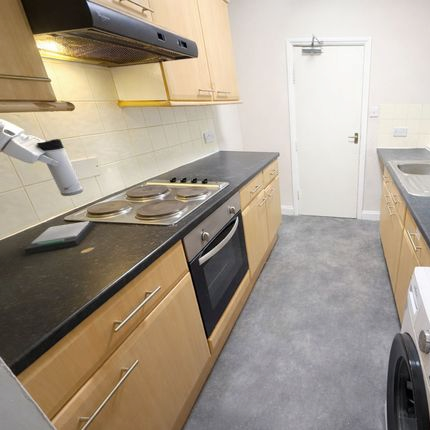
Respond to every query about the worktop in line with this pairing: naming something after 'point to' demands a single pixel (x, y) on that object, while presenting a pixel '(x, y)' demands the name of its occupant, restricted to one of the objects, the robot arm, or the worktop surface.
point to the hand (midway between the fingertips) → (61, 162)
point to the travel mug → (61, 168)
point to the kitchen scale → (60, 237)
